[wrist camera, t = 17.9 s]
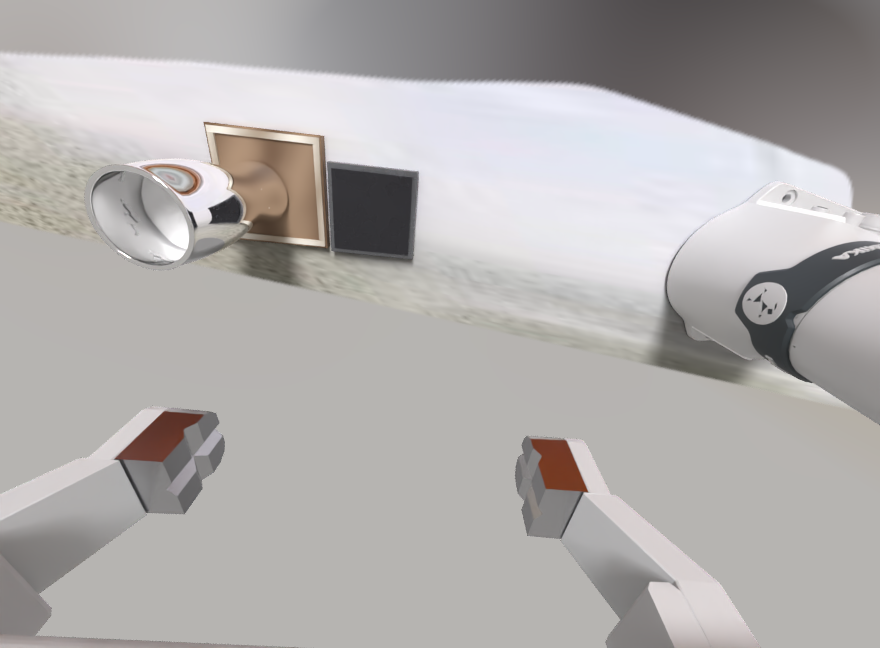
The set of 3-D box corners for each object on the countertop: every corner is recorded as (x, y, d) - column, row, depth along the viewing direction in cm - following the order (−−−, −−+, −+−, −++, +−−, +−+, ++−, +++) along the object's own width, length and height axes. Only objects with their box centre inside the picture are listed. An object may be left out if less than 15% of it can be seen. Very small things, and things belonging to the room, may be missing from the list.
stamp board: (323, 135, 33) (320, 135, 32) (329, 246, 38) (327, 248, 37) (208, 122, 32) (202, 121, 31) (230, 236, 37) (225, 238, 36)
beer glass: (253, 237, 37) (142, 288, 23) (209, 174, 34) (54, 191, 20) (305, 211, 35) (219, 249, 22) (264, 142, 32) (136, 138, 19)
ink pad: (418, 171, 34) (417, 172, 33) (412, 256, 38) (411, 260, 37) (330, 161, 34) (325, 161, 32) (334, 248, 38) (330, 252, 37)
